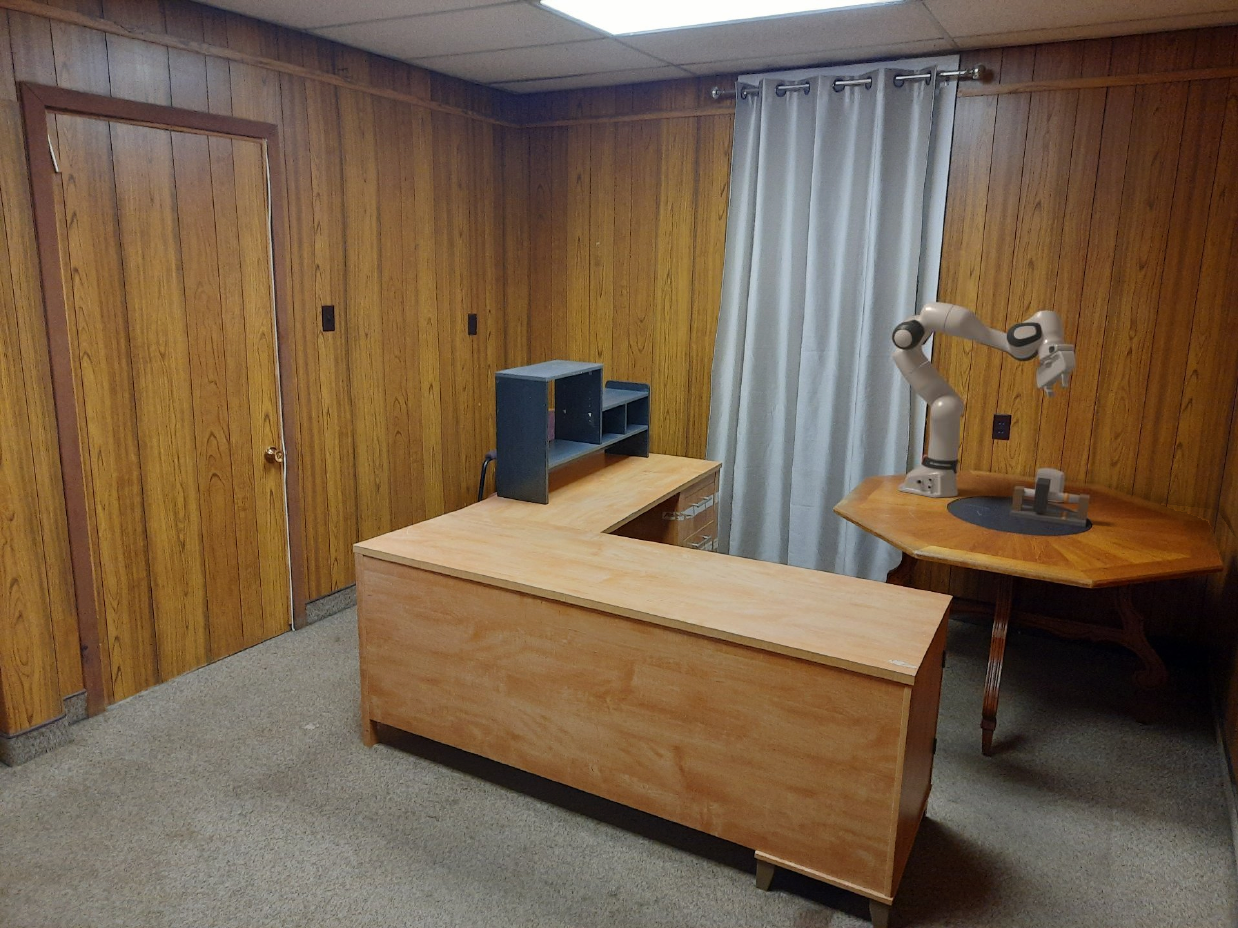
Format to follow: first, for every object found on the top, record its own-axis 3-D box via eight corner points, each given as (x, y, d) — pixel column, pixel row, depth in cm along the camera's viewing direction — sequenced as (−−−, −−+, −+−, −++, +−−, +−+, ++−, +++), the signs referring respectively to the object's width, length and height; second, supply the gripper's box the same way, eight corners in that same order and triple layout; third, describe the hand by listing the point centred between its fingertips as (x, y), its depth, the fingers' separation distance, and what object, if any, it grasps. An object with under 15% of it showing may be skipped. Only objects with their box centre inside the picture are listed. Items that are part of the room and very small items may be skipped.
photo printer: (1031, 497, 334) (1035, 467, 331) (1036, 496, 337) (1040, 465, 334) (1058, 503, 326) (1062, 472, 323) (1063, 502, 329) (1068, 470, 326)
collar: (1032, 510, 306) (1036, 483, 304) (1035, 503, 315) (1038, 477, 312) (1045, 512, 304) (1048, 484, 302) (1047, 505, 313) (1050, 478, 310)
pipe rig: (1009, 516, 309) (1013, 490, 307) (1013, 508, 319) (1016, 483, 317) (1085, 527, 298) (1089, 500, 296) (1086, 518, 308) (1090, 492, 306)
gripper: (1029, 366, 309) (1034, 402, 305) (1058, 343, 289) (1063, 381, 286) (1046, 366, 309) (1052, 402, 305) (1076, 343, 289) (1082, 381, 286)
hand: (1058, 392), depth 295 cm, fingers open, 8 cm apart
